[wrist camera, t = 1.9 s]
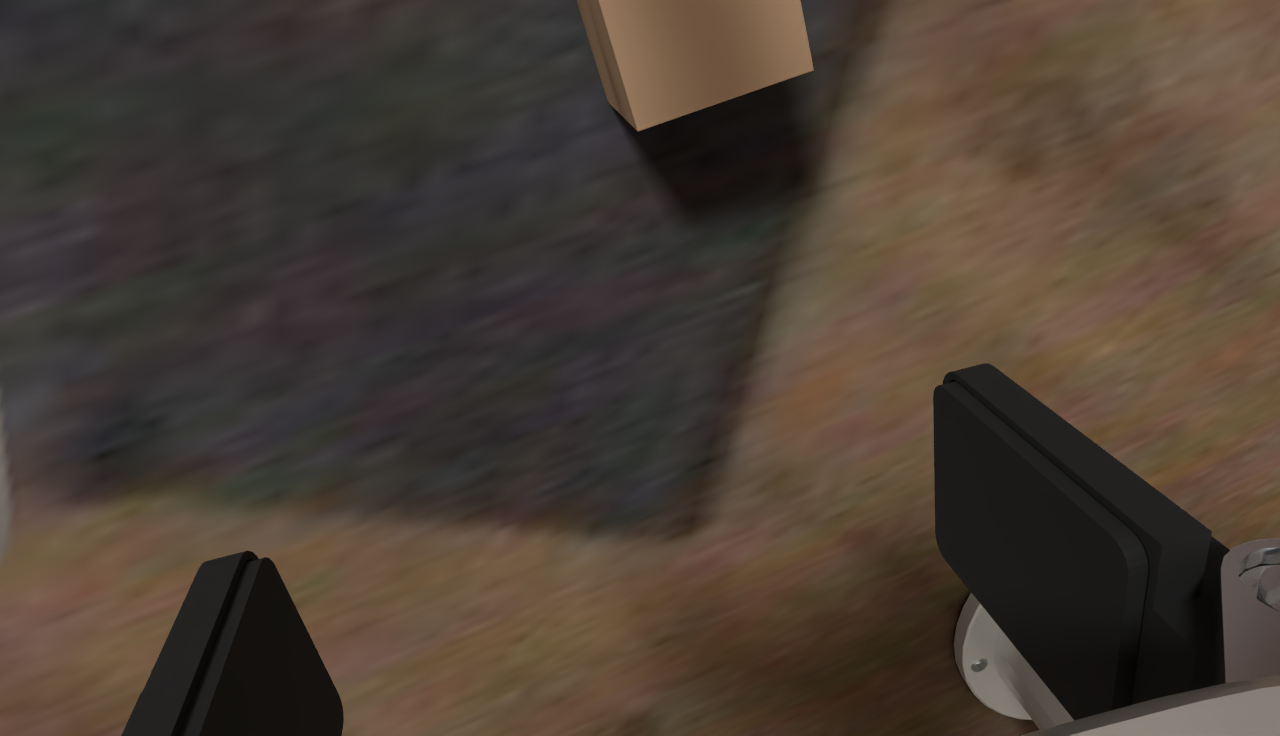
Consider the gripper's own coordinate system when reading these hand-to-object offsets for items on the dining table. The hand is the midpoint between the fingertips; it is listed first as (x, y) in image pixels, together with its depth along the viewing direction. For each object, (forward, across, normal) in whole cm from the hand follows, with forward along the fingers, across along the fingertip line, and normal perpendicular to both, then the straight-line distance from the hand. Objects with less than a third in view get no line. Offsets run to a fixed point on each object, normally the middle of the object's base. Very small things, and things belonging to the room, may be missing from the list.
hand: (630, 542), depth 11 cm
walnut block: (+19, -5, -6) cm, 21 cm away
